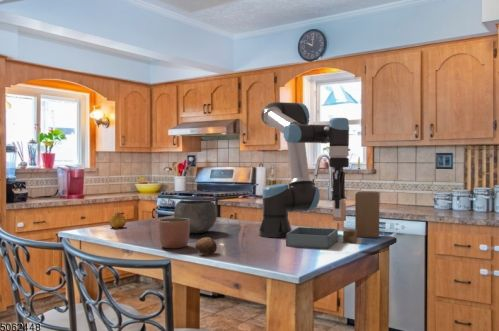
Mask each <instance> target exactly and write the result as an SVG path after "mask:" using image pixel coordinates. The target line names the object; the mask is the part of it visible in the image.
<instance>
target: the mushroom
mask: <svg viewBox="0 0 499 331" xmlns="http://www.w3.org/2000/svg"><path fill="white" fill-rule="evenodd" d="M217 248H218V247H217V243H216V241H215V240H214V239H213V238H211V237H207V236H206V237H202V238H200V239H199V240H197V242H195V249H196V251H197V252H198V253H199V254H202V255H205V256H209V255H213V254H215V253H216V251H217Z"/></svg>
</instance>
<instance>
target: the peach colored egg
mask: <svg viewBox="0 0 499 331" xmlns="http://www.w3.org/2000/svg"><path fill="white" fill-rule="evenodd" d="M346 204H347V203H346V202H345V201H344V202H341V217H334V201H333V202H332V220H333V221H335V222H345V221H346V220H347V210H346V208H347V207H346V206H347V205H346Z"/></svg>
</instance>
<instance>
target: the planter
mask: <svg viewBox="0 0 499 331" xmlns="http://www.w3.org/2000/svg"><path fill="white" fill-rule="evenodd" d="M189 231H190V219H187V218H174V217H170V218H169V217H166V218H161V219H159V220H158V237H159V243H160V246H161V247H162V248H165V249H172V250H173V249H174V250H175V249H182V248H185V247H187V245H188V244H189V242H190V233H189Z"/></svg>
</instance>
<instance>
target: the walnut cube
mask: <svg viewBox="0 0 499 331" xmlns="http://www.w3.org/2000/svg"><path fill="white" fill-rule="evenodd" d="M342 237H343V238H342V240H343V242H342V243H343V244H344V243H345V244H356V243H358V237H357V230H355V229H351V228H350V229H348V228H345V229H344V230H343V232H342Z"/></svg>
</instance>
